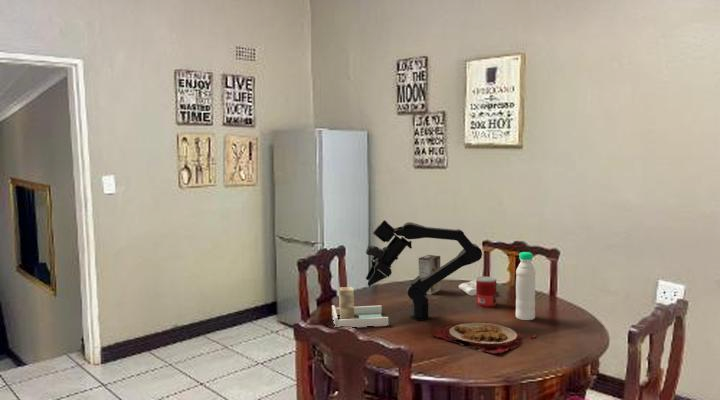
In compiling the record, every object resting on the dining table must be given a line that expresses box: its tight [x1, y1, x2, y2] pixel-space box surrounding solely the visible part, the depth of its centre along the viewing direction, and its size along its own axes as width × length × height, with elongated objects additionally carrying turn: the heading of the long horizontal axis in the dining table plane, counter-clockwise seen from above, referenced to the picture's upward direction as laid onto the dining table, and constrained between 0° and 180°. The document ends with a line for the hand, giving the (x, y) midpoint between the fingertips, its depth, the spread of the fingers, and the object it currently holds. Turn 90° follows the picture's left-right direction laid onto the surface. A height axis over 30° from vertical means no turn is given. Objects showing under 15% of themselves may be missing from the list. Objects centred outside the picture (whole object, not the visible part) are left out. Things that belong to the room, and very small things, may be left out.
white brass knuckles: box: [458, 279, 497, 297], centre depth 240 cm, size 3×18×15 cm
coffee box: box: [418, 254, 442, 295], centre depth 241 cm, size 9×6×16 cm
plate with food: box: [431, 321, 537, 354], centre depth 182 cm, size 25×26×4 cm
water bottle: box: [515, 251, 536, 321], centre depth 200 cm, size 7×7×25 cm
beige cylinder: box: [338, 286, 355, 320], centre depth 201 cm, size 5×5×12 cm
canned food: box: [475, 276, 497, 308], centre depth 219 cm, size 8×8×11 cm
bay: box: [331, 305, 389, 328], centre depth 202 cm, size 20×16×4 cm
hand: (367, 282), depth 202 cm, fingers open, 9 cm apart
